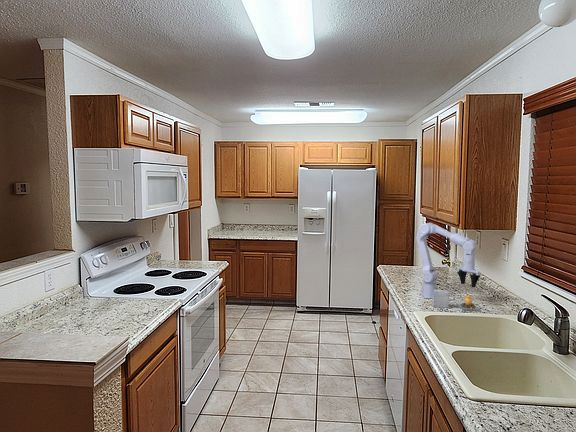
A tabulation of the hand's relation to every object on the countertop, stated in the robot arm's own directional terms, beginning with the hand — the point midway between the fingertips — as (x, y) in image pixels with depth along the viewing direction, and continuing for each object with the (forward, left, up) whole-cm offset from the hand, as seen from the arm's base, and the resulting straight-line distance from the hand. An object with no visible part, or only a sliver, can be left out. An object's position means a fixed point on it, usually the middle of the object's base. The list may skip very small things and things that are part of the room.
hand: (468, 285), depth 218 cm
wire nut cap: (+8, -3, -10) cm, 13 cm away
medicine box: (+6, -17, -11) cm, 21 cm away
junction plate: (+8, -3, -10) cm, 13 cm away
